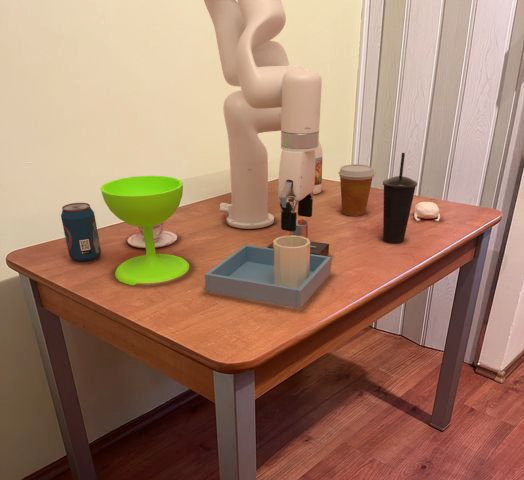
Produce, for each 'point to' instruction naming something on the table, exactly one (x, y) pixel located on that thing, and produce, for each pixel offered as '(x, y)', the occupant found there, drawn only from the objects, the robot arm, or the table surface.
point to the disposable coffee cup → (355, 188)
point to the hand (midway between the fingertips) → (296, 223)
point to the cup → (291, 260)
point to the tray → (263, 277)
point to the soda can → (81, 233)
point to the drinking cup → (397, 205)
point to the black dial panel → (315, 248)
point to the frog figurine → (426, 211)
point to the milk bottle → (318, 170)
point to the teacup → (159, 236)
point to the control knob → (300, 229)
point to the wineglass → (146, 224)
